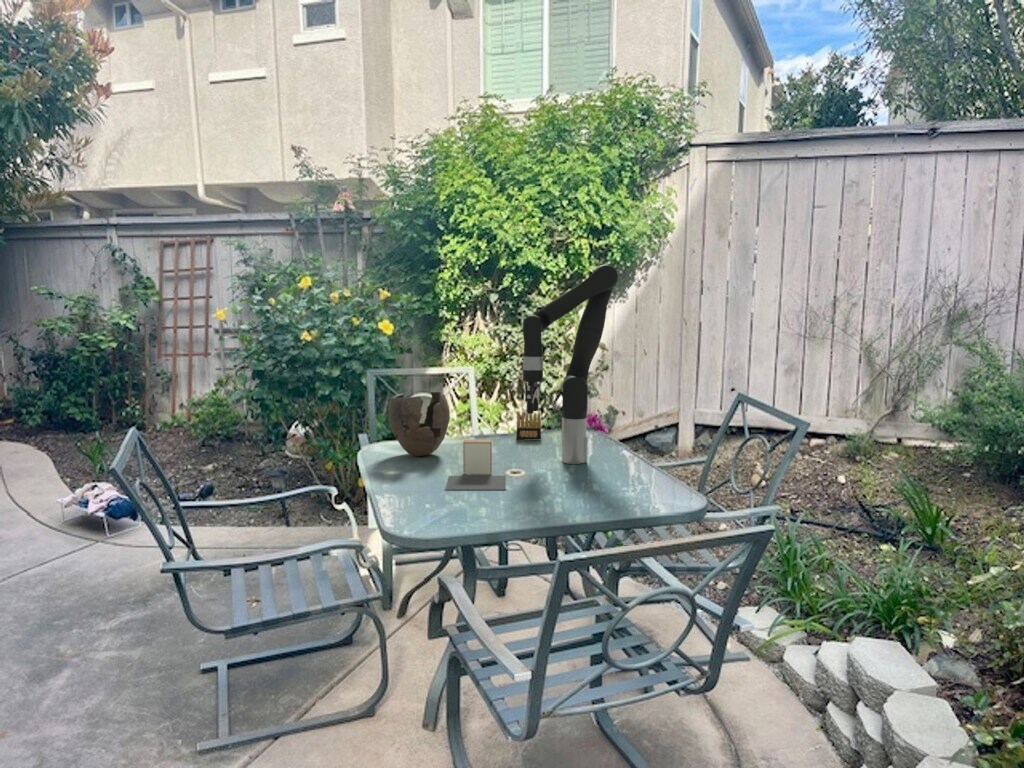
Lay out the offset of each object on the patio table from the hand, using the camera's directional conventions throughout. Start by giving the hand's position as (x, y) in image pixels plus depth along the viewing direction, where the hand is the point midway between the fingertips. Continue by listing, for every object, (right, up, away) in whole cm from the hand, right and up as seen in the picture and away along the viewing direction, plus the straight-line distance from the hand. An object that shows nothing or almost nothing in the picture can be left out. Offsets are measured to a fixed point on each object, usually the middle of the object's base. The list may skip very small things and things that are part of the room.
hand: (532, 412), depth 265 cm
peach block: (-20, -22, -11) cm, 32 cm away
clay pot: (-44, -18, +14) cm, 50 cm away
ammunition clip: (-1, -14, +40) cm, 42 cm away
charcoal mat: (-20, -23, -23) cm, 38 cm away
